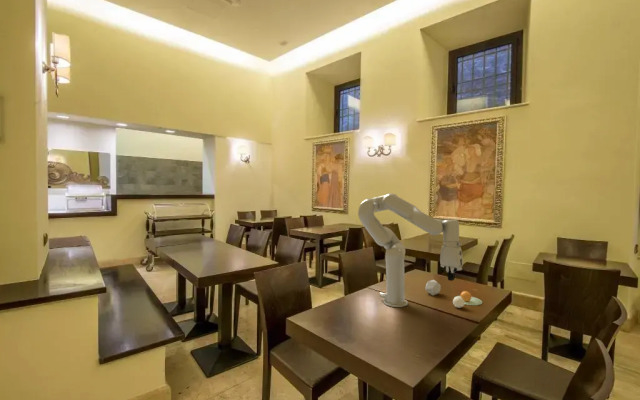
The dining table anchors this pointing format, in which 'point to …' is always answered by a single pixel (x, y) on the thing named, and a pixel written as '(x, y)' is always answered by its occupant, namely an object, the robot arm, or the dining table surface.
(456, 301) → the cue ball
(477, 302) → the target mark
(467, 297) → the object ball
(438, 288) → the die
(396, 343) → the dining table surface
